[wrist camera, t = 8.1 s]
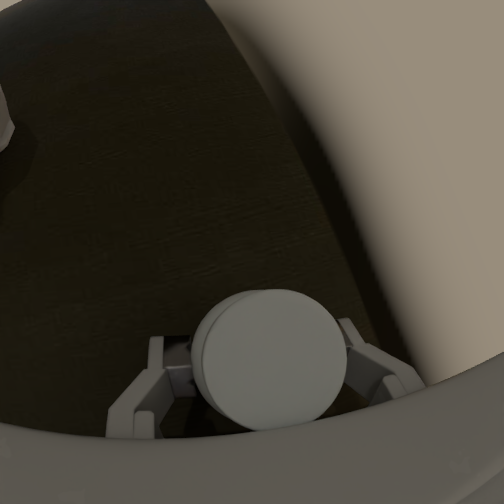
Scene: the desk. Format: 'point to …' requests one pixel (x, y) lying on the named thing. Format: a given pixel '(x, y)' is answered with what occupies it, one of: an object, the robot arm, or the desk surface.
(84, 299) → the desk surface
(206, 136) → the desk surface
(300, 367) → the pill bottle
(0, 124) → the cup
